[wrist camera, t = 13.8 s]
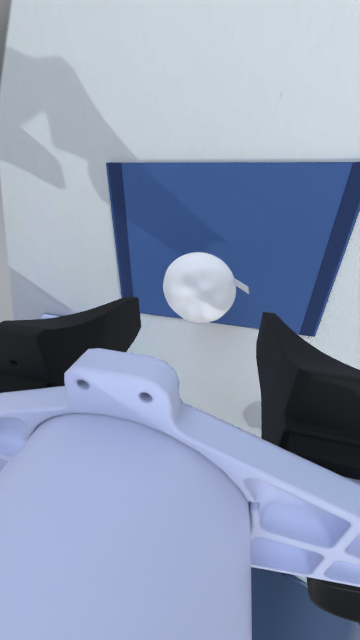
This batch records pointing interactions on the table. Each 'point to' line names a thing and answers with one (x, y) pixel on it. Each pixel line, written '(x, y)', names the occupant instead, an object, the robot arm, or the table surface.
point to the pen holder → (335, 598)
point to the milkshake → (202, 282)
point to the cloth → (237, 231)
